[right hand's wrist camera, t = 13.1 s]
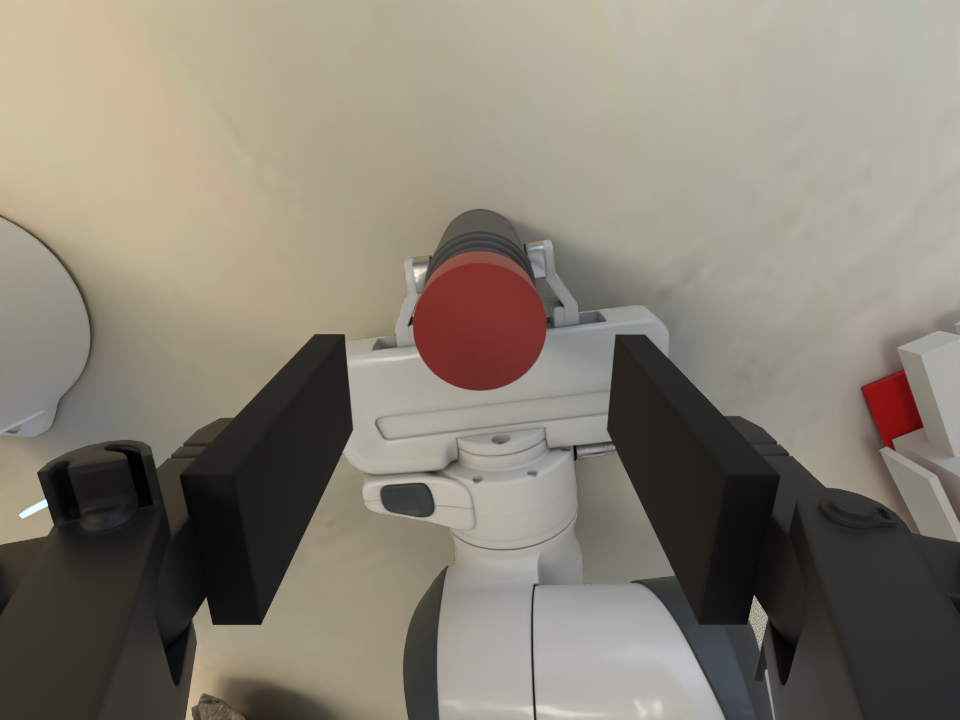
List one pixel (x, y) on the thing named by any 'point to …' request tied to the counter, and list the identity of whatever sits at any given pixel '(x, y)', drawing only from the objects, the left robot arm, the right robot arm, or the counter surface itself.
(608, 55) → the counter surface
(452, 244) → the bottle
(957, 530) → the toy
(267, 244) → the counter surface
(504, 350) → the cap
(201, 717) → the fossil
